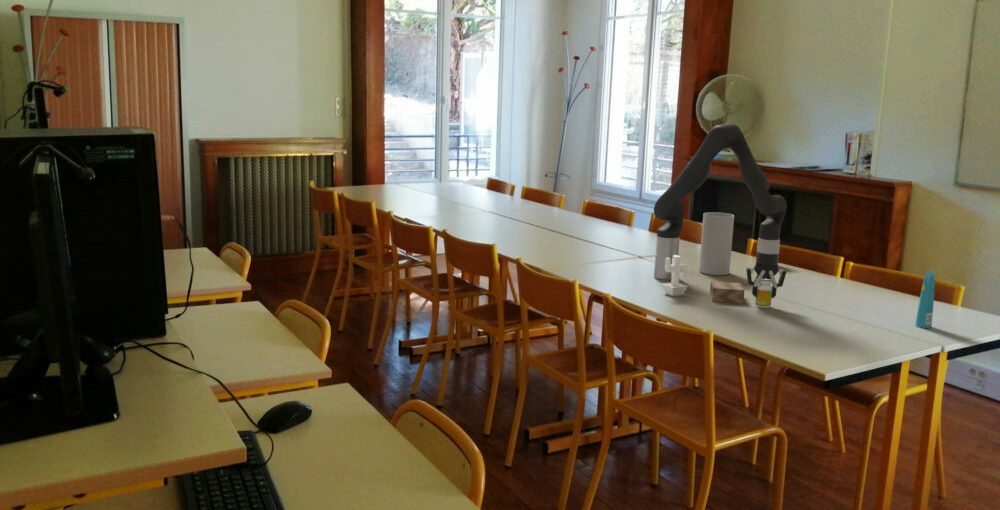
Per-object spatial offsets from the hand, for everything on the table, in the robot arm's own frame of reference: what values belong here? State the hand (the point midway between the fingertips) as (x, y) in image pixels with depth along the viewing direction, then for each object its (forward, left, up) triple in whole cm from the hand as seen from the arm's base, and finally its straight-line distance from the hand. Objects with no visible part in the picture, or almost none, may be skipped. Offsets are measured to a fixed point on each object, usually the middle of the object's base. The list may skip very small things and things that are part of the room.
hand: (763, 296), depth 299 cm
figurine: (-31, +10, -4) cm, 33 cm away
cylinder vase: (-12, +53, -4) cm, 54 cm away
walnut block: (-12, +8, -4) cm, 15 cm away
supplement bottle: (0, 0, -4) cm, 4 cm away
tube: (+50, -14, -4) cm, 52 cm away
